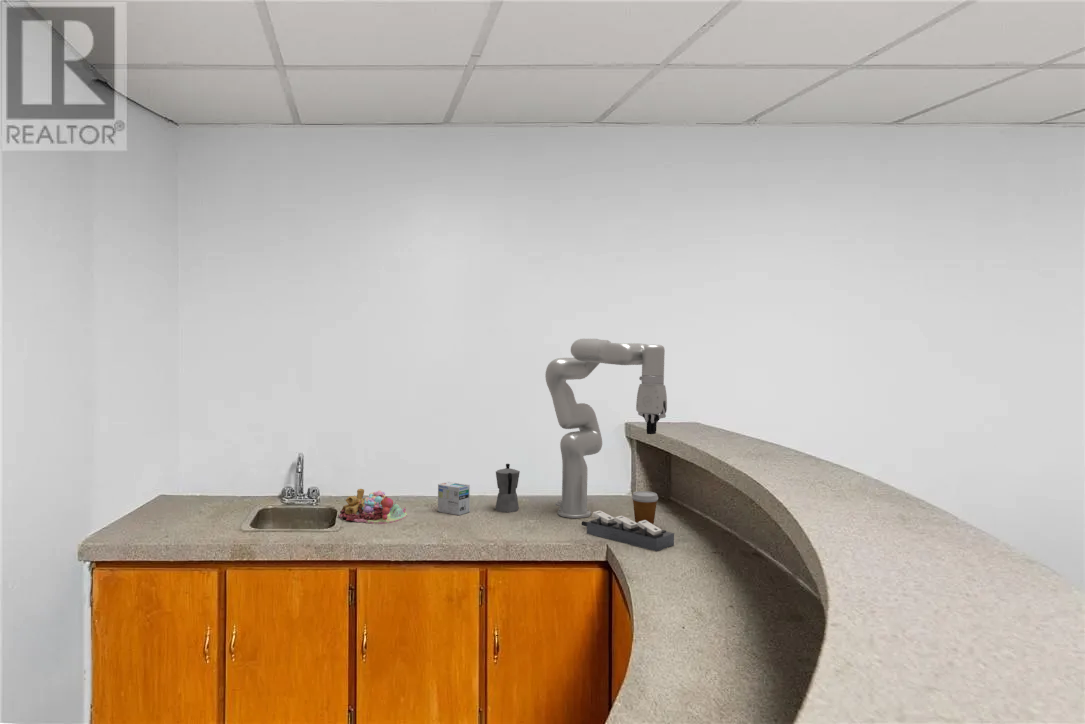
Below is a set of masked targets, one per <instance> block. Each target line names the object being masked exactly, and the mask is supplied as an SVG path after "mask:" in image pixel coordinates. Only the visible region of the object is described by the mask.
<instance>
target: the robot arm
mask: <svg viewBox="0 0 1085 724" xmlns="http://www.w3.org/2000/svg"><path fill="white" fill-rule="evenodd" d="M570 354H571V356H572V357H560V358H556V359H553V360H551V361H550V362H549V363H548V365H547V366H546V368H545V369H546V370H545V373H544V375H545V377H544V378H545V382H546V385H547V388H548V391H549V393H550V396H551V398H552V403H553V408H554V411H555V415H556V419H557V422H558V425H559V426H560V427H561V428H562V429H565V430H571V429H572V430H574V429H578V430H577V431H570V432H568V433H565V434H564V435H563V436H562V437H561V439H560V442H559V443H560V444H559V446H560V447H559V448H560V453H561V460H562V462H561V463H562V464H561V469H562V471H561V472H562V473H561V474H562V480H561V482H562V483H561V484H562V486H561V499H558V500H556V502H555V503H554V505H555V506H556V507H559V509H558V510H557V515H558V516H560V517H563V518H568V519H582V518H583V519H584V518H588V517H590V516H591V515H592V514H591V510H590V509H588V507H587V506H588V465H587V461H586V459H585V456H586V457H587V456H591V455H596V454H598V453H599V452H601V450H602V447H603V437H602V433H601V429H600V425H599V422H598V418H597V416H596V412H595V410H594V409H593V407H592V406H591V405H589V404H587V403H585V402H584V403H582V402H580V403H577V401H576V398H575V394H574V391H573V389H572V387H571V386H570V385H569V384H568V383H567V381H568V380H572V381H573V380H582V379H586V378H587V377H588V376H590V375H591V373H593V371H594V370H595V369H596V368H597V367H598V366H599V365H600V364H606V365H617V366H618V365H619V366H634V365H635V366H641V375H640V376H639V377H638V378H639V380H640V381H641V383H640V384H639V385H638V389H637V394H636V401H635V403H636V404H635V405H636V407H635V410H636V411H637V415H638V416H640V417H643V419H644V422H645V423H646V435H655V434H656V433H657V423H658V422H659V421H660V419H664V418H666V416H667V415H666V413H667V410H668V401H667V400H668V398H667V390H666V389H667V388H666V385H665V384H664V379H665V347H664V345H661V344H647V343H635V342H634V343H632V342H630V343H624V342H623V343H619V342H611V341H610V340H608V339H598V338H579V339H577V340H575V341H573V343H571V346H570Z"/></svg>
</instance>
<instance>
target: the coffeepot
mask: <svg viewBox="0 0 1085 724" xmlns="http://www.w3.org/2000/svg"><path fill="white" fill-rule="evenodd" d="M510 466H511V464H510V463H506V464H505V468H502V469H497V470H496V471H495V477H496V483H497V484H496V485H497V489H498V494H497V499H496V502H495V503H496V504H495V509H494V510H496V511H497V512H500V513H515V512H517V511H519V509H520V506H519V500H518V493H517V488H518V486H519V485H518V484H519V477H520V473H521V472H520V470H517V469H515V468H510Z"/></svg>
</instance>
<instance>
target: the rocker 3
mask: <svg viewBox="0 0 1085 724" xmlns="http://www.w3.org/2000/svg"><path fill="white" fill-rule="evenodd" d="M637 525H638V526H639V527H641V528H642V529H645V530H647V532H649V533H651V534H652V535H657V534H660V533H661V531H662V530H663V529H661V528H660V527H658V526H656V525H655V524H651V523H650V522H648V521H646V520H643V521H639V522H638V524H637Z"/></svg>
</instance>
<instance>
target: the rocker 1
mask: <svg viewBox="0 0 1085 724" xmlns="http://www.w3.org/2000/svg"><path fill="white" fill-rule="evenodd" d="M591 515H592V517H594V518H596V519H597V518H599V519H601V520H602V521H604V522H606V523H611V522H615V521H614V518H615V516H613V515H610V514H608V513H606V512H604V511H602V510H596V511H593V512H592V514H591Z"/></svg>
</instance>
